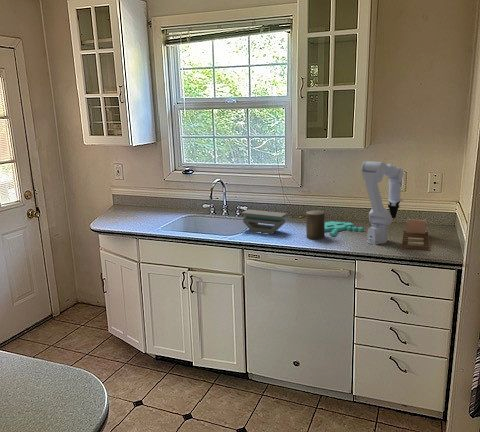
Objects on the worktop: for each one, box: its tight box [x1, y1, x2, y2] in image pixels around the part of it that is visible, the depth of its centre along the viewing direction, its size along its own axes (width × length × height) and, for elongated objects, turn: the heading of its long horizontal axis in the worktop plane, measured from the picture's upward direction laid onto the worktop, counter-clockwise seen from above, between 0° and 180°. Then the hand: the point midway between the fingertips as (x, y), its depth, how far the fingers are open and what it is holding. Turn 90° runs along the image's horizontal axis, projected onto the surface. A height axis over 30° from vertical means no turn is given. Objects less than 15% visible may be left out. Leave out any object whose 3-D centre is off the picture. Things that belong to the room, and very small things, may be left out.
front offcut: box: [408, 242, 424, 246], centre depth 214 cm, size 2×7×3 cm, turn 69°
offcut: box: [408, 237, 423, 242], centre depth 219 cm, size 2×7×3 cm, turn 69°
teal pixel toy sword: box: [325, 220, 364, 238], centre depth 251 cm, size 20×2×20 cm
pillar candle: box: [305, 209, 326, 240], centre depth 238 cm, size 10×10×15 cm
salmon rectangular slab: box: [405, 218, 427, 234], centre depth 230 cm, size 2×9×8 cm, turn 69°
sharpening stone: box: [240, 209, 288, 235], centre depth 253 cm, size 25×8×11 cm, turn 60°
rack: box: [400, 230, 431, 252], centre depth 222 cm, size 26×13×3 cm, turn 159°
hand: (393, 215), depth 234 cm, fingers open, 7 cm apart
